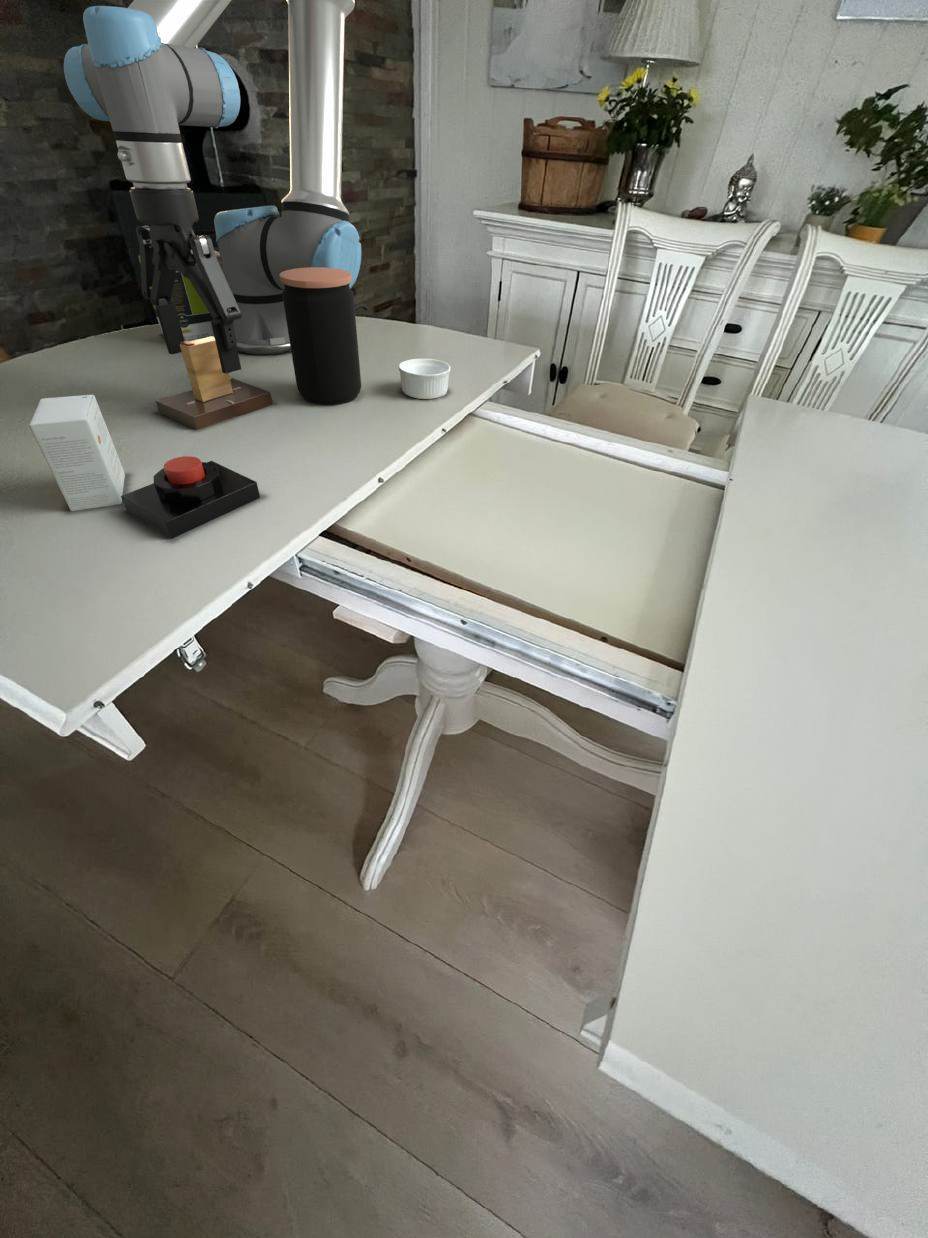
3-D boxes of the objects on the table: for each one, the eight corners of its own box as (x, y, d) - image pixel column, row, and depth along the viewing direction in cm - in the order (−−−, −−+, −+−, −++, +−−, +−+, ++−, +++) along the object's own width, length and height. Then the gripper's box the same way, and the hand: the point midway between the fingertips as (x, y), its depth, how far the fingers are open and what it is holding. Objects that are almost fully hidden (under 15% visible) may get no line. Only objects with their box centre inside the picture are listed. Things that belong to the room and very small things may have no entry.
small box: (77, 481, 71) (39, 397, 65) (126, 475, 73) (94, 392, 66) (69, 512, 66) (26, 424, 59) (122, 505, 67) (86, 418, 61)
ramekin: (440, 381, 104) (440, 356, 101) (457, 397, 98) (458, 371, 95) (393, 385, 101) (392, 360, 98) (408, 403, 95) (407, 376, 92)
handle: (224, 389, 92) (211, 334, 86) (233, 392, 91) (220, 337, 85) (194, 398, 88) (178, 341, 83) (203, 402, 87) (187, 344, 82)
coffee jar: (368, 386, 100) (359, 268, 89) (353, 408, 92) (341, 282, 81) (309, 382, 101) (292, 265, 89) (289, 404, 93) (268, 278, 81)
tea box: (230, 324, 128) (212, 247, 118) (248, 335, 122) (231, 254, 112) (160, 334, 120) (136, 252, 111) (176, 346, 114) (152, 261, 105)
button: (192, 466, 68) (187, 452, 67) (212, 476, 66) (208, 462, 65) (161, 478, 65) (156, 464, 64) (181, 489, 64) (176, 475, 62)
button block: (215, 476, 74) (207, 446, 71) (260, 498, 70) (253, 468, 67) (127, 512, 66) (114, 481, 64) (171, 539, 62) (159, 507, 60)
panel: (234, 389, 97) (231, 376, 96) (272, 404, 93) (270, 390, 92) (159, 413, 89) (154, 399, 87) (197, 430, 84) (193, 415, 83)
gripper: (80, 179, 75) (135, 349, 89) (191, 194, 64) (234, 386, 78) (134, 178, 80) (178, 340, 94) (246, 192, 69) (278, 373, 83)
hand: (204, 361), depth 86 cm, fingers open, 13 cm apart
